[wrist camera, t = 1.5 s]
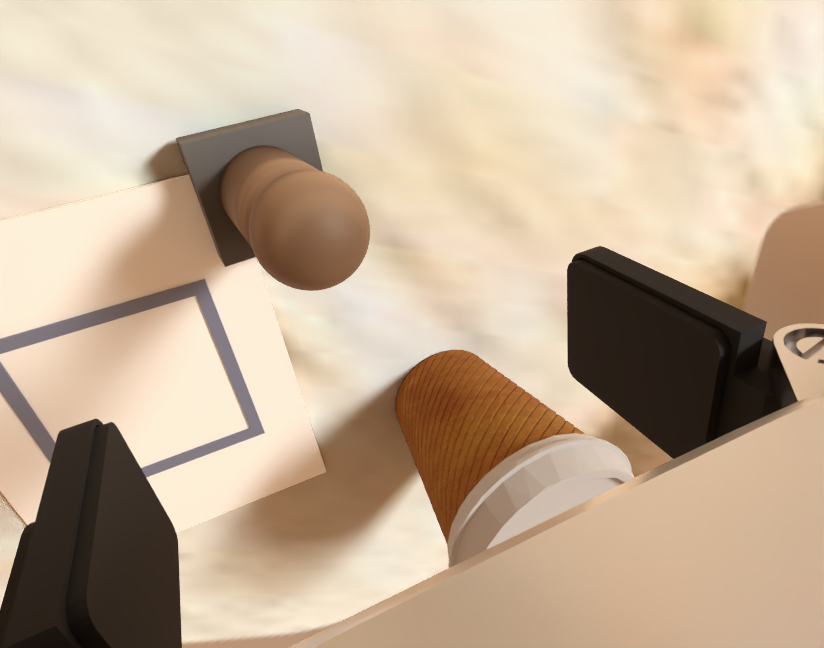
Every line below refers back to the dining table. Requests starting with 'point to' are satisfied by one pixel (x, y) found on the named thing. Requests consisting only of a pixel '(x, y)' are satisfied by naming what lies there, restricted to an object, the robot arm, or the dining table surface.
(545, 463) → the disposable coffee cup
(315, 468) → the sheet
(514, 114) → the dining table surface
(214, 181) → the stamp
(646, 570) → the robot arm
